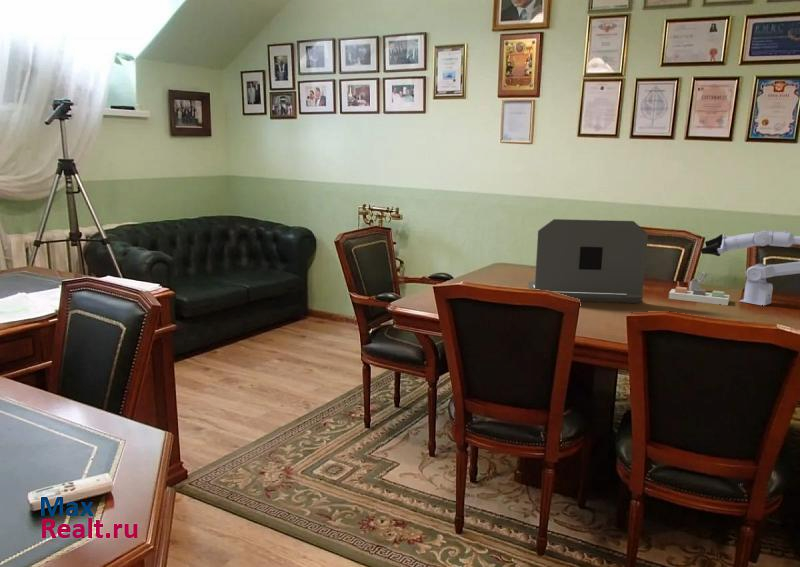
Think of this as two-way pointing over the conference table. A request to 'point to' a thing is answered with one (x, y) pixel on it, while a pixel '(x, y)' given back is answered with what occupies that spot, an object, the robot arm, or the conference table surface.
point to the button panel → (699, 297)
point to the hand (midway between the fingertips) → (703, 247)
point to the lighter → (696, 282)
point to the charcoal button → (699, 292)
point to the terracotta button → (681, 290)
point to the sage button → (718, 294)
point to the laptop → (592, 259)
